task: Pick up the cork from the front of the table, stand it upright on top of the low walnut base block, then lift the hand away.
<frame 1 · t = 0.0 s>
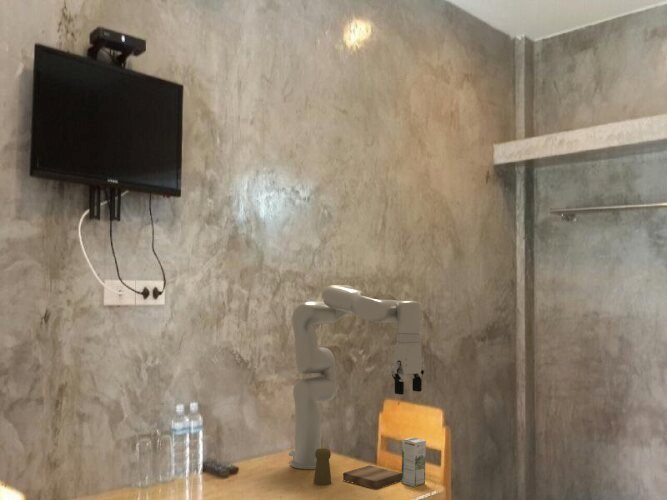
hand: (408, 392, 203), 31 cm above the table, fingers open, 9 cm apart
syrup box: (413, 484, 209), on the table
walnut base: (372, 480, 212), on the table
cork: (322, 483, 209), on the table
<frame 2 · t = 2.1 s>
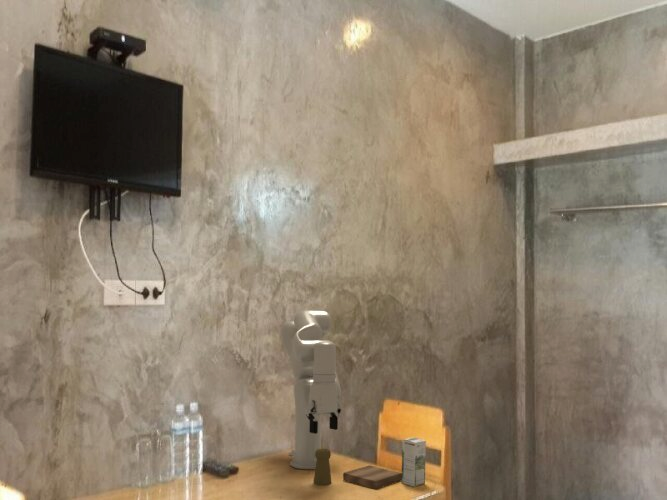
hand: (323, 431, 210), 17 cm above the table, fingers open, 9 cm apart
nothing on the table moved.
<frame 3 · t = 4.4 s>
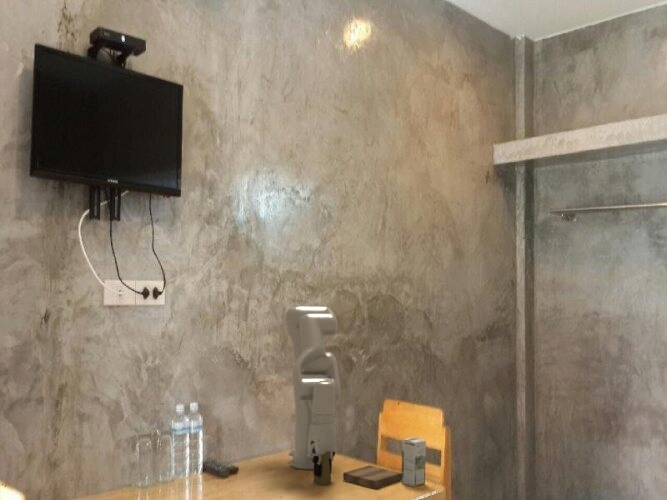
hand: (322, 474, 209), 3 cm above the table, fingers closed on cork, 4 cm apart
cork: (322, 483, 209), on the table, touching gripper
everything else where it was.
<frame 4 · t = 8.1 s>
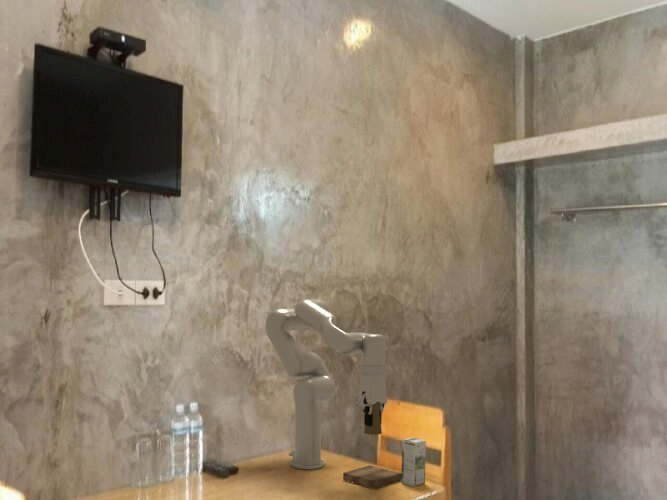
hand: (372, 424, 214), 19 cm above the table, fingers closed on cork, 4 cm apart
cork: (373, 433, 214), point 16 cm above the table, touching gripper
everything else where it was.
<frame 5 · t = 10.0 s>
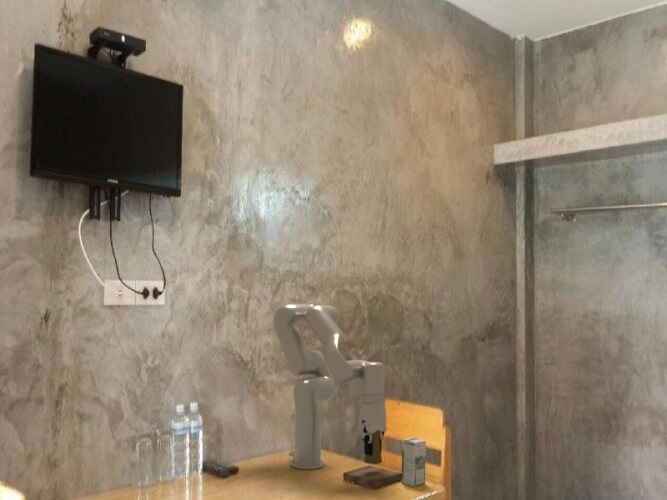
hand: (372, 453, 213), 9 cm above the table, fingers closed on cork, 4 cm apart
cork: (373, 462, 213), point 6 cm above the table, touching gripper
everything else where it was.
when the fingers open (7 cm above the table, at t = 11.7 s): cork drops 2 cm, resting on walnut base.
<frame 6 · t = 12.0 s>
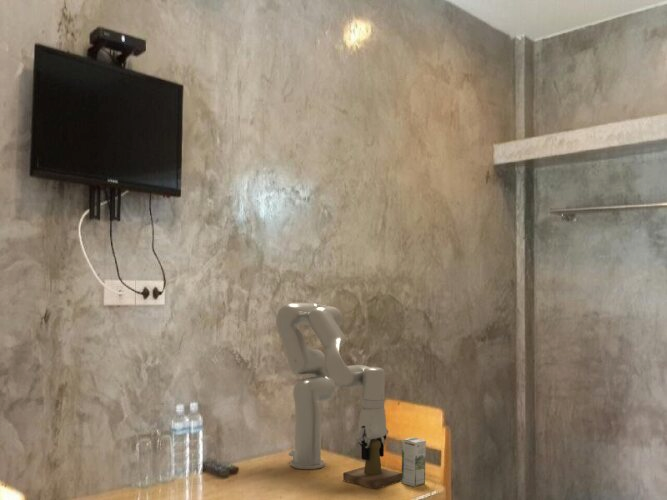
hand: (372, 457, 213), 8 cm above the table, fingers open, 6 cm apart
cork: (372, 473, 213), point 2 cm above the table, touching walnut base
everything else where it was.
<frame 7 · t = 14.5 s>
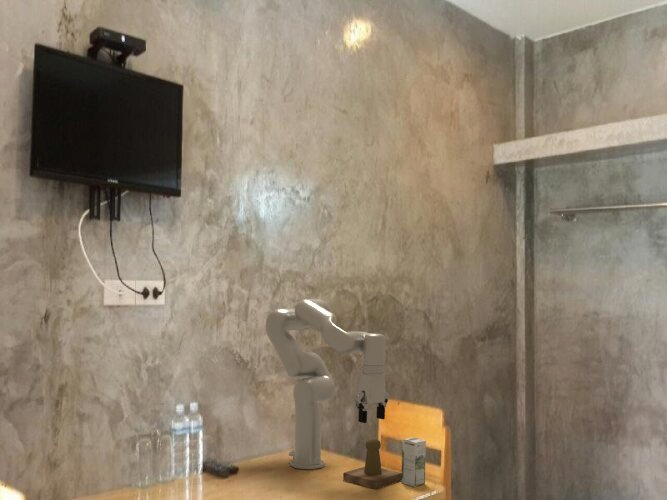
hand: (371, 420, 214), 20 cm above the table, fingers open, 9 cm apart
nothing on the table moved.
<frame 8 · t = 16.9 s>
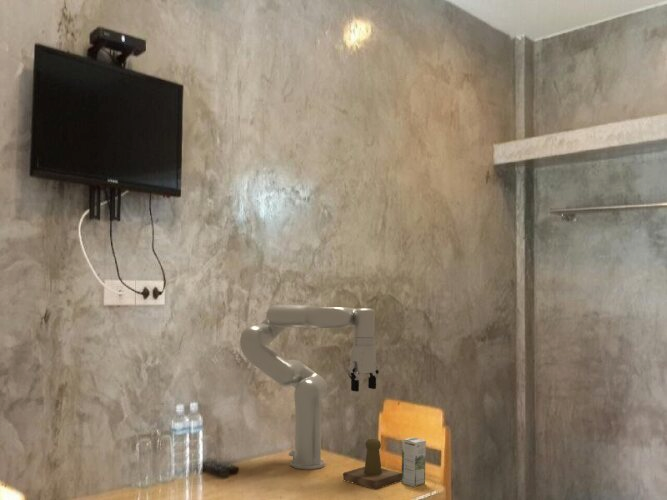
hand: (363, 389, 228), 28 cm above the table, fingers open, 9 cm apart
nothing on the table moved.
at the end: cork inside the target area on the walnut base (0.4 cm from its centre), point 2.3 cm above the walnut base's base; cork tilted 0°; the gripper is holding nothing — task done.
